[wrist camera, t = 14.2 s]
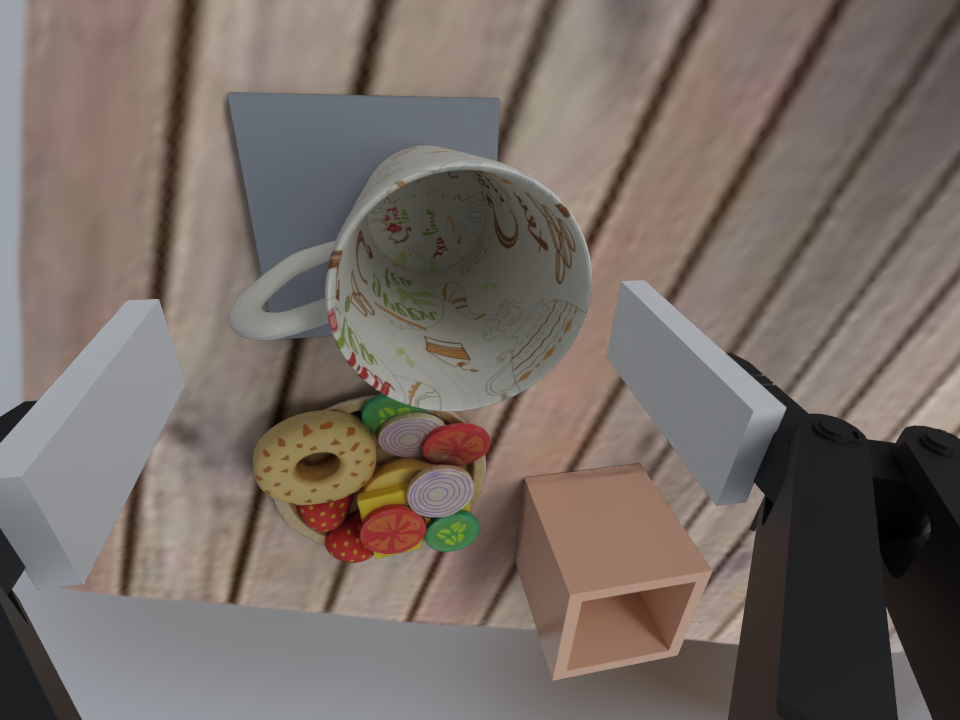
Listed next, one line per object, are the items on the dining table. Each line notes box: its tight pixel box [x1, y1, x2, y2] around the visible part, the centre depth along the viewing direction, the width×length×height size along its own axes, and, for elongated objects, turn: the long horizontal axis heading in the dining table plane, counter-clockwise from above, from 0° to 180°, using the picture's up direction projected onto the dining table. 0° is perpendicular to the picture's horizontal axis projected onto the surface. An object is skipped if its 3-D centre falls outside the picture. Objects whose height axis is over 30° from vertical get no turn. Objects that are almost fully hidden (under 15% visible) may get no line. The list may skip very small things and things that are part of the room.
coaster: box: [227, 92, 500, 340], centre depth 25 cm, size 11×11×1 cm
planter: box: [515, 464, 712, 680], centre depth 35 cm, size 9×9×9 cm
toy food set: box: [253, 393, 490, 563], centre depth 32 cm, size 13×13×3 cm
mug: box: [228, 145, 592, 411], centre depth 20 cm, size 8×13×10 cm, turn 106°
